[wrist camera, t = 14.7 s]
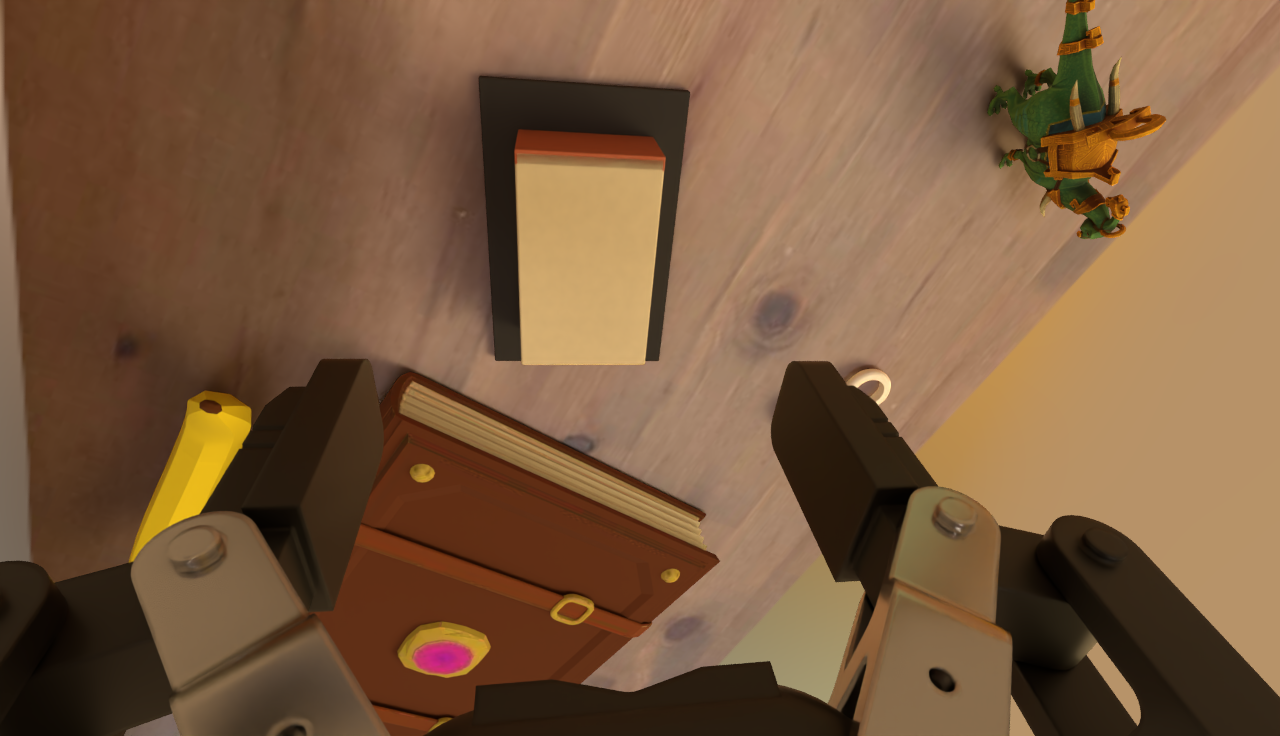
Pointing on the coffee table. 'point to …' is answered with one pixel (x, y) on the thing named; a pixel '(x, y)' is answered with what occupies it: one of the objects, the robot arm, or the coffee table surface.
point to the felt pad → (578, 112)
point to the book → (497, 560)
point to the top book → (586, 245)
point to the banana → (195, 462)
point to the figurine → (1075, 128)
